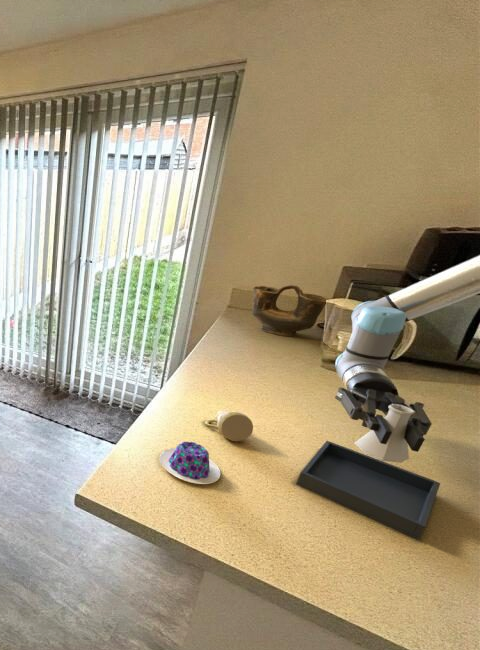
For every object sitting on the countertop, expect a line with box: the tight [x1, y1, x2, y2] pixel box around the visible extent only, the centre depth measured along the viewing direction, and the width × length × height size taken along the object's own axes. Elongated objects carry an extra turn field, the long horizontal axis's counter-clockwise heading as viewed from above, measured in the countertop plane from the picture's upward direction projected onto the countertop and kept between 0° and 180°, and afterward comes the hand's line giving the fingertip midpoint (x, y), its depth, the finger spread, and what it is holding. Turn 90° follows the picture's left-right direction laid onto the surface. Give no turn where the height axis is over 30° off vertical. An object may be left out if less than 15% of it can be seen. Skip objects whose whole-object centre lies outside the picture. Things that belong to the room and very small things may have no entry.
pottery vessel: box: [251, 284, 329, 338], centre depth 158 cm, size 25×11×20 cm, turn 38°
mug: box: [204, 410, 254, 442], centre depth 98 cm, size 8×10×10 cm
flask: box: [354, 404, 415, 464], centre depth 75 cm, size 7×7×10 cm
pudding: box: [159, 441, 221, 485], centre depth 86 cm, size 12×12×5 cm
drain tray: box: [295, 440, 441, 541], centre depth 79 cm, size 18×18×3 cm
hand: (401, 441), depth 70 cm, fingers closed on flask, 3 cm apart
